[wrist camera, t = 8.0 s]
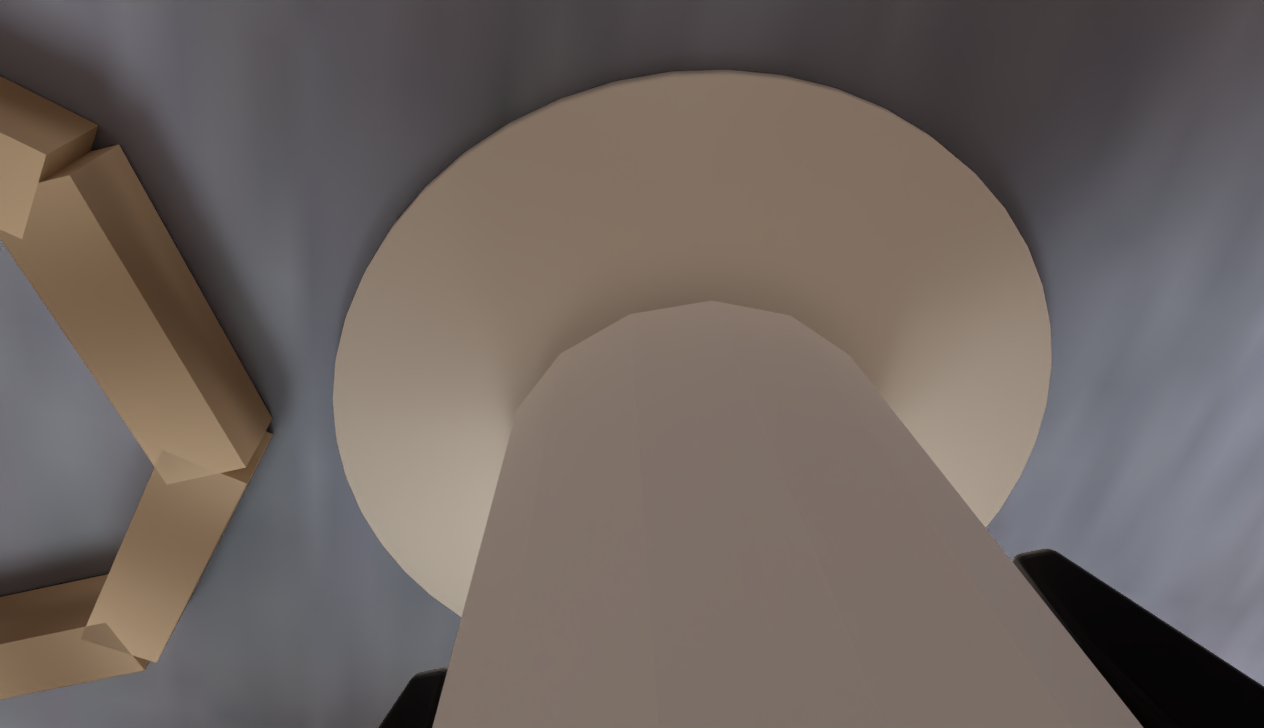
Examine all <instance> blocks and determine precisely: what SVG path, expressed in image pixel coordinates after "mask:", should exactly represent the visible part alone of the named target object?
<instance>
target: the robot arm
mask: <svg viewBox="0 0 1264 728" xmlns="http://www.w3.org/2000/svg"><path fill="white" fill-rule="evenodd" d="M1013 563H1014V564H1015V566H1016V567H1017V568H1018V569H1019V571H1020V572H1021V573H1022V575H1023V576H1024V577H1025V578H1026V580H1027V581H1028V582H1029V583H1030V585H1031V586H1032V587H1033V588H1034V590H1035V591H1036V592H1037V594H1038V595H1039V596H1040V597H1041V599H1042V600H1043V601H1044V602H1045V604H1046V605H1047V606H1048V607H1049V609H1050V610H1051V611H1052V612H1053V614H1054V615H1055V616H1056V618H1057V619H1058V620H1059V621H1060V623H1061V624H1062V625H1063V626H1064V628H1065V629H1066V630H1067V631H1068V633H1069V634H1070V635H1071V637H1072V638H1073V639H1074V640H1075V642H1076V643H1077V644H1078V645H1079V647H1080V648H1081V649H1082V650H1083V652H1084V653H1085V654H1086V656H1087V657H1088V658H1089V659H1090V661H1091V662H1092V663H1093V664H1094V666H1095V667H1096V668H1097V669H1098V671H1099V672H1100V673H1101V675H1102V676H1103V677H1104V678H1105V680H1106V681H1107V682H1108V683H1109V685H1110V686H1111V687H1112V688H1113V690H1114V691H1115V692H1116V694H1117V695H1118V696H1119V697H1120V699H1121V700H1122V701H1123V702H1124V704H1125V705H1126V706H1127V707H1128V709H1129V710H1130V711H1131V713H1132V714H1133V715H1134V716H1135V718H1136V719H1137V720H1138V721H1139V723H1140V724H1141V725H1142V726H1143V728H1264V686H1262V685H1261V684H1259V683H1258V682H1256V681H1255V680H1253V679H1252V678H1250V677H1248V676H1247V675H1245V674H1244V673H1242V672H1241V671H1239V670H1238V669H1236V668H1235V667H1233V666H1232V665H1230V664H1229V663H1227V662H1225V661H1224V660H1222V659H1221V658H1219V657H1218V656H1216V655H1215V654H1213V653H1212V652H1210V651H1209V650H1207V649H1205V648H1204V647H1202V646H1201V645H1199V644H1198V643H1196V642H1195V641H1193V640H1192V639H1190V638H1189V637H1187V636H1186V635H1184V634H1182V633H1181V632H1179V631H1178V630H1176V629H1175V628H1173V627H1172V626H1170V625H1169V624H1167V623H1166V622H1164V621H1162V620H1161V619H1159V618H1158V617H1156V616H1155V615H1153V614H1152V613H1150V612H1149V611H1147V610H1146V609H1144V608H1143V607H1141V606H1139V605H1138V604H1136V603H1135V602H1133V601H1132V600H1130V599H1129V598H1127V597H1126V596H1124V595H1123V594H1121V593H1120V592H1118V591H1116V590H1115V589H1113V588H1112V587H1110V586H1109V585H1107V584H1106V583H1104V582H1103V581H1101V580H1100V579H1098V578H1096V577H1095V576H1093V575H1092V574H1090V573H1089V572H1087V571H1086V570H1084V569H1083V568H1081V567H1080V566H1078V565H1077V564H1075V563H1073V562H1072V561H1070V560H1069V559H1067V558H1066V557H1064V556H1063V555H1061V554H1060V553H1058V552H1056V551H1054V550H1051V549H1041V550H1036V551H1031V552H1026V553H1021V554H1018V555H1016V556H1015V558H1014V560H1013ZM447 670H448V668H439V669H434V670H429V671H424V672H420V673H418V674H416V675H415V676H414V677H413V678H412V679H411V680H410V681H409V683H408V684H407V686H406V687H405V689H404V690H403V692H402V693H401V695H400V696H399V698H398V699H397V701H396V702H395V704H394V705H393V707H392V708H391V710H390V711H389V713H388V714H387V716H386V717H385V719H384V720H383V722H382V723H381V725H380V726H379V728H432V727H433V723H434V719H435V715H436V712H437V708H438V704H439V700H440V697H441V693H442V689H443V685H444V682H445V678H446V674H447Z"/></svg>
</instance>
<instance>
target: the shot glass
mask: <svg viewBox="0 0 1264 728" xmlns="http://www.w3.org/2000/svg"><path fill="white" fill-rule="evenodd" d="M432 728H1143V726H1142V725H1141V724H1140V723H1139V721H1138V720H1137V719H1136V718H1135V716H1134V715H1133V714H1132V713H1131V711H1130V710H1129V709H1128V707H1127V706H1126V705H1125V704H1124V702H1123V701H1122V700H1121V699H1120V697H1119V696H1118V695H1117V694H1116V692H1115V691H1114V690H1113V688H1112V687H1111V686H1110V685H1109V683H1108V682H1107V681H1106V680H1105V678H1104V677H1103V676H1102V675H1101V673H1100V672H1099V671H1098V669H1097V668H1096V667H1095V666H1094V664H1093V663H1092V662H1091V661H1090V659H1089V658H1088V657H1087V656H1086V654H1085V653H1084V652H1083V650H1082V649H1081V648H1080V647H1079V645H1078V644H1077V643H1076V642H1075V640H1074V639H1073V638H1072V637H1071V635H1070V634H1069V633H1068V631H1067V630H1066V629H1065V628H1064V626H1063V625H1062V624H1061V623H1060V621H1059V620H1058V619H1057V618H1056V616H1055V615H1054V614H1053V612H1052V611H1051V610H1050V609H1049V607H1048V606H1047V605H1046V604H1045V602H1044V601H1043V600H1042V599H1041V597H1040V596H1039V595H1038V594H1037V592H1036V591H1035V590H1034V588H1033V587H1032V586H1031V585H1030V583H1029V582H1028V581H1027V580H1026V578H1025V577H1024V576H1023V575H1022V573H1021V572H1020V571H1019V569H1018V568H1017V567H1016V566H1015V564H1014V563H1013V562H1012V561H1011V559H1010V558H1009V557H1008V556H1007V554H1006V553H1005V552H1004V550H1003V549H1002V548H1001V547H1000V545H999V544H998V543H997V542H996V540H995V539H994V538H993V537H992V535H991V534H990V533H989V531H988V530H987V529H986V528H985V526H984V525H983V524H982V523H981V521H980V520H979V519H978V518H977V516H976V515H975V514H974V512H973V511H972V510H971V509H970V507H969V506H968V505H967V504H966V502H965V501H964V500H963V499H962V497H961V496H960V495H959V493H958V492H957V491H956V490H955V488H954V487H953V486H952V485H951V483H950V482H949V481H948V480H947V478H946V477H945V476H944V474H943V473H942V472H941V471H940V469H939V468H938V467H937V466H936V464H935V463H934V462H933V461H932V459H931V458H930V457H929V455H928V454H927V453H926V452H925V450H924V449H923V448H922V447H921V445H920V444H919V443H918V442H917V440H916V439H915V438H914V436H913V435H912V434H911V433H910V431H909V430H908V429H907V428H906V426H905V425H904V424H903V423H902V421H901V420H900V419H899V418H898V416H897V415H896V414H895V412H894V411H893V410H892V409H891V407H890V406H889V405H888V404H887V402H886V401H885V400H884V399H883V397H882V396H881V395H880V393H879V392H878V391H877V390H876V388H875V387H874V386H873V385H872V383H871V382H870V381H869V380H868V378H867V377H866V376H865V374H864V373H863V372H862V371H861V369H860V368H859V367H858V366H857V364H856V363H855V362H854V361H853V359H852V358H851V357H850V355H848V354H847V353H845V352H844V351H842V350H841V349H839V348H838V347H836V346H835V345H833V344H832V343H830V342H829V341H827V340H826V339H825V338H823V337H822V336H820V335H819V334H817V333H816V332H814V331H813V330H811V329H810V328H808V327H807V326H805V325H804V324H802V323H801V322H799V321H798V320H796V319H795V318H793V317H792V316H790V315H785V314H780V313H775V312H769V311H764V310H759V309H754V308H749V307H743V306H738V305H733V304H728V303H723V302H717V301H706V302H700V303H694V304H688V305H682V306H676V307H670V308H664V309H658V310H652V311H646V312H640V313H634V314H629V315H627V316H626V317H624V318H622V319H620V320H619V321H617V322H615V323H613V324H612V325H610V326H608V327H606V328H605V329H603V330H601V331H599V332H598V333H596V334H594V335H592V336H591V337H589V338H587V339H585V340H584V341H582V342H580V343H578V344H577V345H575V346H573V347H571V348H570V349H568V350H566V351H564V352H563V353H561V354H560V355H559V356H558V357H557V359H556V360H555V361H554V363H553V364H552V365H551V366H550V368H549V369H548V370H547V372H546V373H545V374H544V375H543V377H542V378H541V379H540V381H539V382H538V383H537V384H536V386H535V387H534V388H533V390H532V391H531V392H530V393H529V395H528V396H527V397H526V399H525V400H524V401H523V402H522V404H521V405H520V406H519V408H518V409H517V410H516V414H515V418H514V422H513V425H512V429H511V433H510V437H509V441H508V444H507V448H506V452H505V456H504V459H503V463H502V467H501V471H500V474H499V478H498V482H497V486H496V489H495V493H494V497H493V501H492V505H491V508H490V512H489V516H488V520H487V523H486V527H485V531H484V535H483V538H482V542H481V546H480V550H479V553H478V557H477V561H476V565H475V569H474V572H473V576H472V580H471V584H470V587H469V591H468V595H467V599H466V602H465V606H464V610H463V614H462V618H461V621H460V625H459V629H458V633H457V636H456V640H455V644H454V648H453V651H452V655H451V659H450V663H449V666H448V670H447V674H446V678H445V682H444V685H443V689H442V693H441V697H440V700H439V704H438V708H437V712H436V715H435V719H434V723H433V727H432Z"/></svg>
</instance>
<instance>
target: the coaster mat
mask: <svg viewBox="0 0 1264 728" xmlns="http://www.w3.org/2000/svg"><path fill="white" fill-rule="evenodd" d="M706 301H717V302H723V303H728V304H733V305H738V306H743V307H749V308H754V309H759V310H764V311H769V312H775V313H780V314H785V315H790V316H792V317H793V318H795V319H796V320H798V321H799V322H801V323H802V324H804V325H805V326H807V327H808V328H810V329H811V330H813V331H814V332H816V333H817V334H819V335H820V336H822V337H823V338H825V339H826V340H827V341H829V342H830V343H832V344H833V345H835V346H836V347H838V348H839V349H841V350H842V351H844V352H845V353H847V354H848V355H850V357H851V358H852V359H853V361H854V362H855V363H856V364H857V366H858V367H859V368H860V369H861V371H862V372H863V373H864V374H865V376H866V377H867V378H868V380H869V381H870V382H871V383H872V385H873V386H874V387H875V388H876V390H877V391H878V392H879V393H880V395H881V396H882V397H883V399H884V400H885V401H886V402H887V404H888V405H889V406H890V407H891V409H892V410H893V411H894V412H895V414H896V415H897V416H898V418H899V419H900V420H901V421H902V423H903V424H904V425H905V426H906V428H907V429H908V430H909V431H910V433H911V434H912V435H913V436H914V438H915V439H916V440H917V442H918V443H919V444H920V445H921V447H922V448H923V449H924V450H925V452H926V453H927V454H928V455H929V457H930V458H931V459H932V461H933V462H934V463H935V464H936V466H937V467H938V468H939V469H940V471H941V472H942V473H943V474H944V476H945V477H946V478H947V480H948V481H949V482H950V483H951V485H952V486H953V487H954V488H955V490H956V491H957V492H958V493H959V495H960V496H961V497H962V499H963V500H964V501H965V502H966V504H967V505H968V506H969V507H970V509H971V510H972V511H973V512H974V514H975V515H976V516H977V518H978V519H979V520H980V521H981V523H982V524H983V525H984V526H985V528H986V527H987V526H988V524H989V523H990V522H991V521H992V519H993V518H994V517H995V515H996V514H997V513H998V512H999V510H1000V509H1001V508H1002V506H1003V504H1004V503H1005V501H1006V499H1007V498H1008V496H1009V494H1010V493H1011V491H1012V489H1013V488H1014V486H1015V484H1016V483H1017V481H1018V479H1019V478H1020V476H1021V474H1022V472H1023V470H1024V467H1025V465H1026V463H1027V460H1028V458H1029V456H1030V454H1031V451H1032V449H1033V447H1034V445H1035V442H1036V440H1037V436H1038V433H1039V429H1040V426H1041V422H1042V419H1043V415H1044V411H1045V408H1046V404H1047V398H1048V390H1049V382H1050V374H1051V366H1052V359H1051V325H1050V320H1049V315H1048V310H1047V305H1046V300H1045V295H1044V290H1043V285H1042V283H1041V280H1040V277H1039V275H1038V272H1037V270H1036V267H1035V264H1034V262H1033V259H1032V256H1031V254H1030V251H1029V249H1028V246H1027V244H1026V243H1025V241H1024V239H1023V238H1022V236H1021V234H1020V233H1019V231H1018V229H1017V228H1016V226H1015V224H1014V223H1013V221H1012V219H1011V218H1010V216H1009V214H1008V213H1007V211H1006V209H1005V208H1004V207H1003V205H1002V204H1001V203H1000V202H999V201H998V200H997V198H996V197H995V196H994V195H993V194H992V193H991V191H990V190H989V189H988V188H987V187H986V186H985V184H984V183H983V182H982V181H981V180H980V179H979V177H978V176H977V175H976V174H975V173H974V172H973V171H972V170H970V169H969V168H968V167H967V166H966V165H965V164H963V163H962V162H961V161H960V160H959V159H957V158H956V157H955V156H954V155H953V154H951V153H950V152H949V151H948V150H947V149H945V148H944V147H943V146H942V145H941V144H939V143H938V142H937V141H936V140H935V139H933V138H932V137H931V136H930V135H928V134H927V133H925V132H924V131H922V130H920V129H919V128H917V127H915V126H914V125H912V124H910V123H909V122H907V121H905V120H904V119H902V118H900V117H899V116H897V115H895V114H894V113H892V112H890V111H889V110H887V109H885V108H884V107H881V106H879V105H876V104H874V103H871V102H869V101H866V100H864V99H861V98H859V97H857V96H854V95H852V94H849V93H847V92H844V91H842V90H839V89H837V88H834V87H830V86H826V85H821V84H817V83H813V82H809V81H805V80H801V79H797V78H793V77H789V76H785V75H778V74H768V73H758V72H748V71H738V70H728V69H727V70H700V71H674V72H665V73H660V74H654V75H648V76H642V77H637V78H631V79H625V80H620V81H614V82H611V83H608V84H604V85H601V86H598V87H595V88H592V89H589V90H586V91H582V92H579V93H576V94H573V95H570V96H567V97H563V98H560V99H558V100H556V101H554V102H552V103H550V104H548V105H545V106H543V107H541V108H539V109H537V110H535V111H533V112H531V113H529V114H526V115H524V116H522V117H520V118H518V119H516V120H514V121H512V122H510V123H508V124H506V125H505V126H503V127H502V128H500V129H499V130H497V131H496V132H494V133H493V134H491V135H490V136H488V137H487V138H485V139H484V140H482V141H481V142H479V143H478V144H476V145H474V146H473V147H471V148H470V149H468V150H467V151H465V152H464V153H463V154H462V155H461V156H459V157H458V158H457V159H456V160H455V161H454V162H453V163H451V164H450V165H449V166H448V167H447V168H446V169H445V170H444V171H442V172H441V173H440V174H439V175H438V176H437V177H436V178H434V179H433V180H432V181H431V182H430V183H429V184H428V185H426V186H425V188H424V189H423V190H422V191H421V192H420V193H419V195H418V196H417V197H416V198H415V199H414V201H413V202H412V203H411V204H410V205H409V206H408V208H407V209H406V210H405V211H404V212H403V214H402V215H401V216H400V217H399V218H398V219H397V221H396V222H395V223H394V224H393V226H392V228H391V229H390V231H389V232H388V234H387V236H386V237H385V239H384V241H383V242H382V244H381V245H380V247H379V249H378V250H377V252H376V254H375V255H374V257H373V258H372V260H371V262H370V263H369V265H368V267H367V269H366V271H365V273H364V275H363V277H362V279H361V282H360V284H359V287H358V289H357V291H356V294H355V296H354V299H353V301H352V303H351V306H350V308H349V311H348V313H347V315H346V318H345V322H344V326H343V330H342V335H341V339H340V343H339V347H338V351H337V356H336V360H335V375H334V389H333V409H334V420H335V430H336V440H337V444H338V448H339V452H340V455H341V459H342V463H343V467H344V471H345V475H346V478H347V480H348V482H349V485H350V487H351V489H352V492H353V494H354V496H355V499H356V501H357V503H358V505H359V508H360V510H361V512H362V514H363V515H364V517H365V518H366V520H367V522H368V523H369V525H370V526H371V528H372V530H373V531H374V533H375V535H376V536H377V538H378V539H379V541H380V543H381V544H382V545H383V546H384V547H385V549H386V550H387V551H388V552H389V553H390V555H391V556H392V557H393V558H394V559H395V561H396V562H397V563H398V564H399V565H400V566H401V568H402V569H403V570H404V571H405V572H406V573H407V574H408V575H409V576H410V577H411V578H412V579H414V580H415V581H416V582H417V583H418V584H419V585H420V586H421V587H422V588H423V589H424V590H425V591H427V592H428V593H429V594H430V595H431V596H432V597H434V598H435V599H436V600H438V601H439V602H441V603H442V604H443V605H445V606H446V607H448V608H449V609H450V610H452V611H453V612H455V613H456V614H457V615H459V616H460V617H462V614H463V610H464V606H465V602H466V599H467V595H468V591H469V587H470V584H471V580H472V576H473V572H474V569H475V565H476V561H477V557H478V553H479V550H480V546H481V542H482V538H483V535H484V531H485V527H486V523H487V520H488V516H489V512H490V508H491V505H492V501H493V497H494V493H495V489H496V486H497V482H498V478H499V474H500V471H501V467H502V463H503V459H504V456H505V452H506V448H507V444H508V441H509V437H510V433H511V429H512V425H513V422H514V418H515V414H516V410H517V409H518V408H519V406H520V405H521V404H522V402H523V401H524V400H525V399H526V397H527V396H528V395H529V393H530V392H531V391H532V390H533V388H534V387H535V386H536V384H537V383H538V382H539V381H540V379H541V378H542V377H543V375H544V374H545V373H546V372H547V370H548V369H549V368H550V366H551V365H552V364H553V363H554V361H555V360H556V359H557V357H558V356H559V355H560V354H561V353H563V352H564V351H566V350H568V349H570V348H571V347H573V346H575V345H577V344H578V343H580V342H582V341H584V340H585V339H587V338H589V337H591V336H592V335H594V334H596V333H598V332H599V331H601V330H603V329H605V328H606V327H608V326H610V325H612V324H613V323H615V322H617V321H619V320H620V319H622V318H624V317H626V316H627V315H629V314H634V313H640V312H646V311H652V310H658V309H664V308H670V307H676V306H682V305H688V304H694V303H700V302H706Z"/></svg>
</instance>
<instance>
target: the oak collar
mask: <svg viewBox="0 0 1264 728" xmlns="http://www.w3.org/2000/svg"><path fill="white" fill-rule="evenodd" d="M98 126H99V125H97V124H95V123H93V122H91V121H89V120H87V119H85V118H83V117H81V116H79V115H77V114H75V113H73V112H71V111H69V110H67V109H65V108H63V107H61V106H59V105H57V104H55V103H53V102H51V101H49V100H47V99H45V98H43V97H41V96H39V95H37V94H35V93H33V92H31V91H29V90H27V89H25V88H23V87H21V86H19V85H17V84H15V83H13V82H11V81H9V80H7V79H5V78H3V77H1V76H0V239H1V241H2V242H3V244H4V245H5V247H6V248H7V249H8V251H9V252H10V254H11V255H12V257H13V258H14V260H15V261H16V263H17V264H18V266H19V267H20V269H21V270H22V272H23V273H24V275H25V276H26V278H27V279H28V280H29V282H30V283H31V285H32V286H33V288H34V289H35V291H36V292H37V294H38V295H39V297H40V298H41V300H42V301H43V303H44V304H45V306H46V307H47V309H48V310H49V311H50V313H51V314H52V316H53V317H54V319H55V320H56V322H57V323H58V325H59V326H60V328H61V329H62V331H63V332H64V334H65V335H66V337H67V338H68V340H69V341H70V342H71V344H72V345H73V347H74V348H75V350H76V351H77V353H78V354H79V356H80V357H81V359H82V360H83V362H84V363H85V365H86V366H87V368H88V369H89V371H90V372H91V373H92V375H93V376H94V378H95V379H96V381H97V382H98V384H99V385H100V387H101V388H102V390H103V391H104V393H105V394H106V396H107V397H108V399H109V400H110V402H111V403H112V404H113V406H114V407H115V409H116V410H117V412H118V413H119V415H120V416H121V418H122V419H123V421H124V422H125V424H126V425H127V427H128V428H129V430H130V431H131V433H132V434H133V435H134V437H135V438H136V440H137V441H138V443H139V444H140V446H141V447H142V449H143V450H144V452H145V453H146V455H147V456H148V458H149V459H150V461H151V462H152V464H153V465H154V466H155V467H154V470H153V472H152V474H151V477H150V479H149V481H148V484H147V486H146V488H145V490H144V493H143V495H142V497H141V500H140V502H139V504H138V507H137V509H136V511H135V514H134V516H133V518H132V521H131V523H130V525H129V528H128V530H127V532H126V535H125V537H124V539H123V542H122V544H121V546H120V549H119V551H118V553H117V555H116V558H115V560H114V562H113V565H112V567H111V569H110V572H109V574H107V575H102V576H98V577H93V578H88V579H83V580H79V581H74V582H69V583H64V584H60V585H55V586H50V587H45V588H41V589H36V590H31V591H27V592H22V593H17V594H12V595H8V596H3V597H0V699H5V698H10V697H15V696H20V695H25V694H30V693H35V692H40V691H45V690H50V689H55V688H60V687H65V686H70V685H75V684H80V683H85V682H90V681H95V680H100V679H105V678H109V677H114V676H119V675H124V674H129V673H134V672H139V671H144V670H145V669H146V667H147V665H148V663H149V662H150V661H152V662H155V663H157V661H158V659H159V657H160V656H161V654H162V652H163V650H164V648H165V646H166V644H167V642H168V640H169V638H170V637H171V635H172V633H173V631H174V629H175V627H176V625H177V623H178V621H179V619H180V617H181V616H182V614H183V612H184V610H185V608H186V606H187V604H188V602H189V600H190V598H191V596H192V594H193V592H194V590H195V588H196V586H197V584H198V582H199V580H200V578H201V576H202V574H203V572H204V570H205V568H206V566H207V564H208V563H209V561H210V559H211V557H212V555H213V553H214V551H215V549H216V547H217V545H218V543H219V541H220V539H221V537H222V535H223V533H224V531H225V529H226V527H227V525H228V523H229V521H230V519H231V517H232V515H233V513H234V511H235V509H236V507H237V505H238V503H239V501H240V499H241V497H242V495H243V493H244V491H245V489H246V487H247V485H248V483H249V481H250V479H251V477H252V475H253V474H254V472H255V470H256V468H257V466H258V464H259V462H260V460H261V458H262V456H263V454H264V452H265V450H266V448H267V446H268V444H269V442H270V440H271V438H272V436H273V434H271V433H269V432H267V431H266V430H267V428H268V426H269V424H270V422H271V421H272V417H271V415H270V414H269V412H268V410H267V408H266V406H265V405H264V403H263V401H262V399H261V398H260V396H259V394H258V392H257V390H256V389H255V387H254V385H253V383H252V381H251V380H250V378H249V376H248V374H247V372H246V371H245V369H244V367H243V365H242V364H241V362H240V360H239V358H238V356H237V355H236V353H235V351H234V349H233V347H232V346H231V344H230V342H229V340H228V339H227V337H226V335H225V333H224V331H223V330H222V328H221V326H220V324H219V322H218V321H217V319H216V317H215V315H214V313H213V312H212V310H211V308H210V306H209V305H208V303H207V301H206V299H205V297H204V296H203V294H202V292H201V290H200V288H199V287H198V285H197V283H196V281H195V280H194V278H193V276H192V274H191V272H190V271H189V269H188V267H187V265H186V263H185V262H184V260H183V258H182V256H181V254H180V253H179V251H178V249H177V247H176V246H175V244H174V242H173V240H172V238H171V237H170V235H169V233H168V231H167V229H166V228H165V226H164V224H163V222H162V221H161V219H160V217H159V215H158V213H157V212H156V210H155V208H154V206H153V204H152V203H151V201H150V199H149V197H148V195H147V194H146V192H145V190H144V188H143V187H142V185H141V183H140V181H139V179H138V178H137V176H136V174H135V172H134V170H133V169H132V167H131V165H130V163H129V162H128V160H127V158H126V156H125V154H124V153H123V151H122V149H121V147H120V145H119V144H118V145H114V146H110V147H106V148H102V149H98V150H94V151H91V148H92V145H93V142H94V139H95V135H96V132H97V129H98Z"/></svg>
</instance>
